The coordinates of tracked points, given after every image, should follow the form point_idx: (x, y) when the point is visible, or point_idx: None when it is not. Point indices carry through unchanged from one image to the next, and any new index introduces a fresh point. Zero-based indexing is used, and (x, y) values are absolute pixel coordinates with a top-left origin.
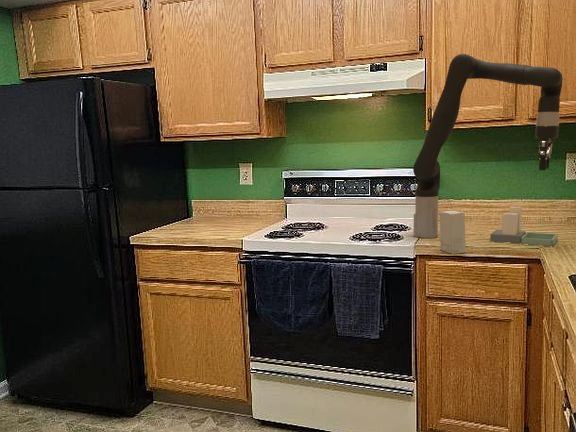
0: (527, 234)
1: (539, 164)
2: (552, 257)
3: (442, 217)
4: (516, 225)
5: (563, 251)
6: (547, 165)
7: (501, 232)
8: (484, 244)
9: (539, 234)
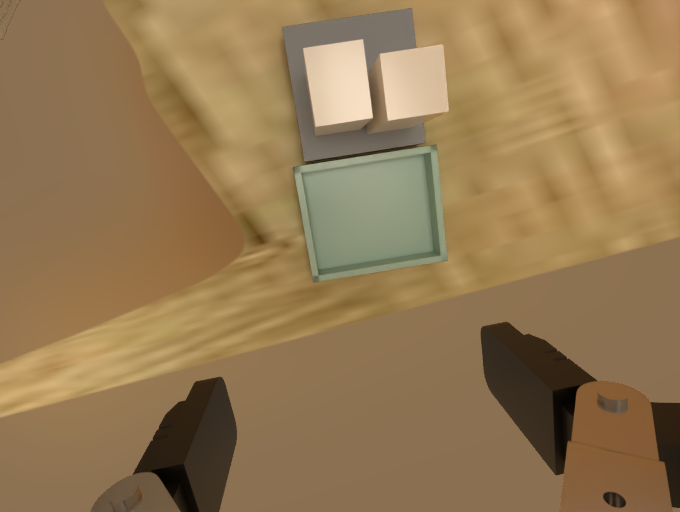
0: (409, 155)
1: (177, 420)
2: (149, 323)
3: None
4: (331, 130)
5: (262, 324)
6: (503, 394)
7: None
8: (213, 40)
9: (433, 196)
